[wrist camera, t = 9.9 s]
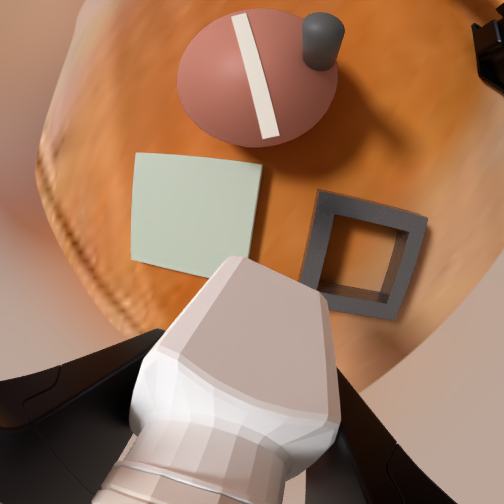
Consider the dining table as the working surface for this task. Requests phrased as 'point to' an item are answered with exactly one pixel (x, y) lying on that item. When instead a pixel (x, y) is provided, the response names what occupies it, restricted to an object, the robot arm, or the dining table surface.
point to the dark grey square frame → (399, 266)
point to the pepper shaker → (232, 395)
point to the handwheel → (261, 75)
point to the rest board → (192, 211)
